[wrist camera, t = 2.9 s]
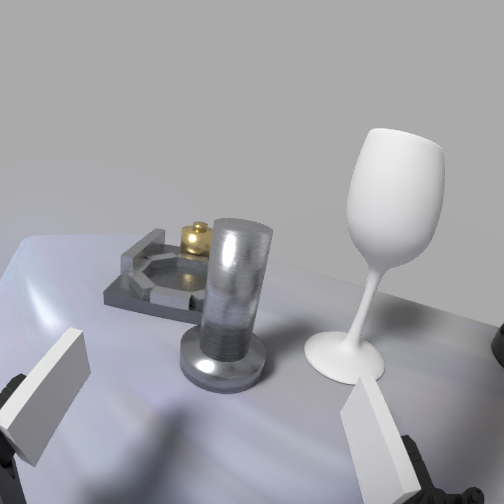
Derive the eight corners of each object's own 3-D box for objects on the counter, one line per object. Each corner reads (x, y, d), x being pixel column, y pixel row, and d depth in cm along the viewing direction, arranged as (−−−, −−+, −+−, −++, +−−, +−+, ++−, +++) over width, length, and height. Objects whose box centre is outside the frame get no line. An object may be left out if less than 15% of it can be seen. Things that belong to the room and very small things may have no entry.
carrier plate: (237, 265, 46) (244, 225, 44) (227, 329, 28) (236, 270, 26) (154, 251, 45) (157, 212, 43) (103, 304, 28) (101, 247, 26)
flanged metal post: (261, 346, 27) (288, 223, 23) (262, 398, 20) (302, 250, 16) (188, 334, 26) (201, 208, 23) (171, 384, 20) (180, 230, 16)
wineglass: (290, 336, 29) (337, 124, 22) (355, 330, 32) (404, 149, 25) (329, 394, 21) (410, 124, 15) (399, 375, 24) (472, 161, 18)
